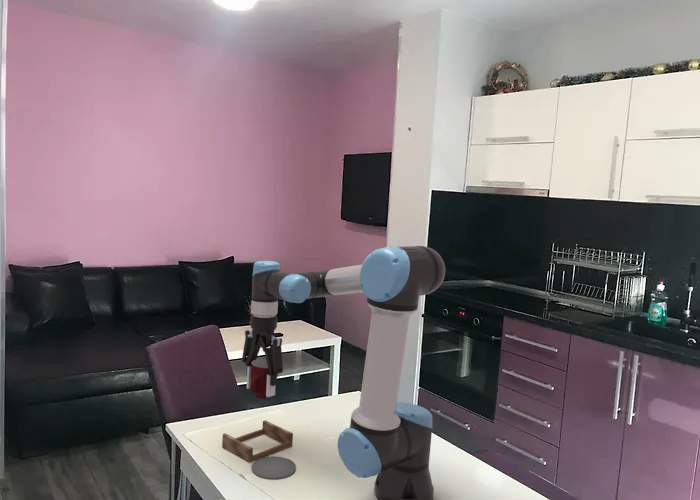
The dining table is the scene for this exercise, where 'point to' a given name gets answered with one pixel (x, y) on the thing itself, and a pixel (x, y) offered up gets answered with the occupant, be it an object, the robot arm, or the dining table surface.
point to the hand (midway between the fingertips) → (260, 391)
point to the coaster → (273, 467)
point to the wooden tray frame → (268, 429)
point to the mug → (259, 378)
